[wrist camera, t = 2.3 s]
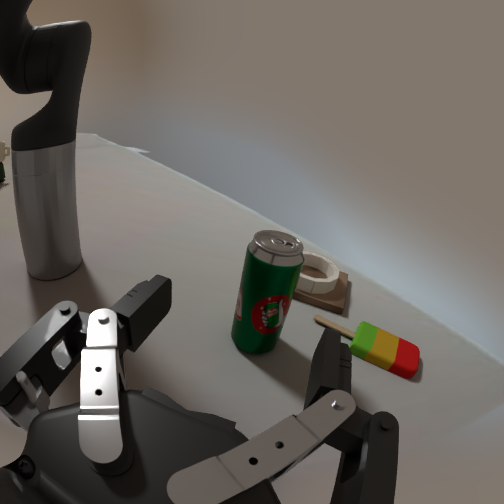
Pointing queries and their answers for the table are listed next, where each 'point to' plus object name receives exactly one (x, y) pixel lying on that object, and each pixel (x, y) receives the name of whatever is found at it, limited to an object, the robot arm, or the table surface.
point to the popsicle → (380, 348)
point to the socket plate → (328, 298)
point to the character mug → (3, 158)
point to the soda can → (266, 290)
